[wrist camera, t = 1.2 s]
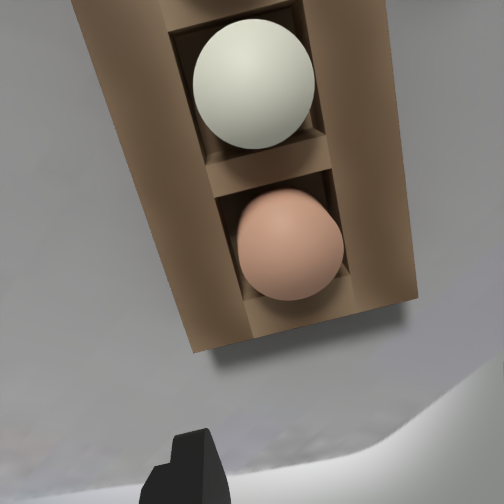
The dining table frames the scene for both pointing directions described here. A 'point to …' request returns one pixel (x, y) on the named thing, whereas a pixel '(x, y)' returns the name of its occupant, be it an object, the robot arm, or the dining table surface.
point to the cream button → (253, 84)
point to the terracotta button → (288, 244)
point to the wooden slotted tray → (258, 156)
